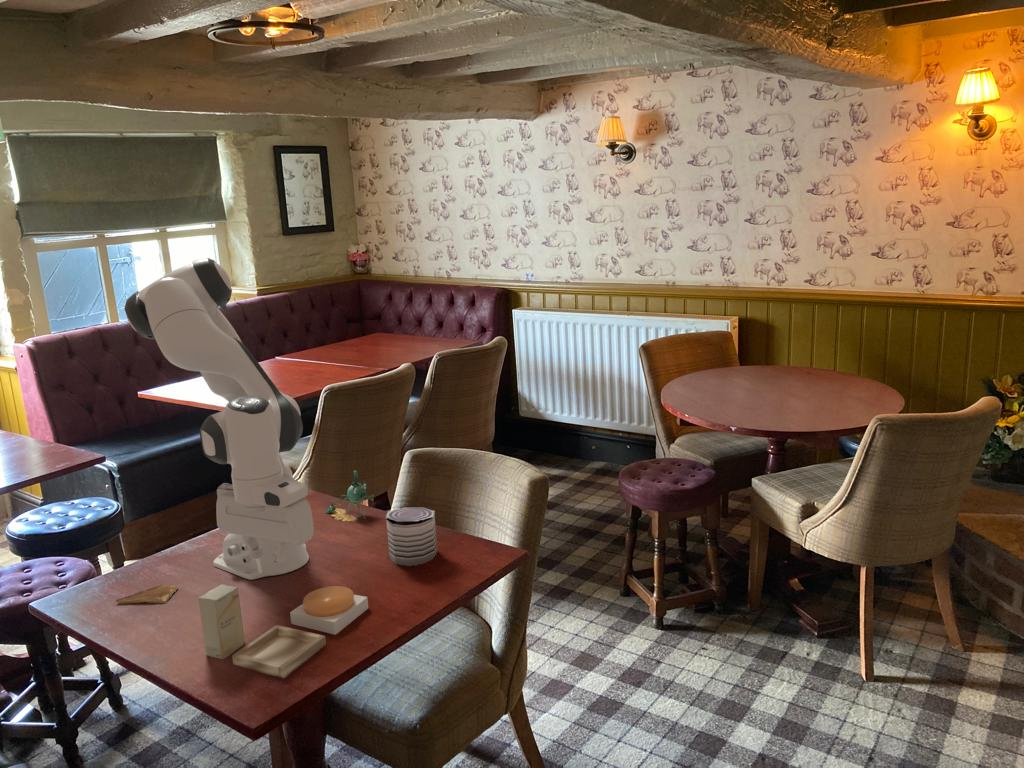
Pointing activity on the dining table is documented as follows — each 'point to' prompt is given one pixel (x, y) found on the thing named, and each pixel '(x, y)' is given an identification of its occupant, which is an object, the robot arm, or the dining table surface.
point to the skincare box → (221, 621)
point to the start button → (328, 601)
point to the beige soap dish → (279, 651)
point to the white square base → (329, 617)
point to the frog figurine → (354, 495)
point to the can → (411, 535)
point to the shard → (150, 595)
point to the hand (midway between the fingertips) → (268, 559)
